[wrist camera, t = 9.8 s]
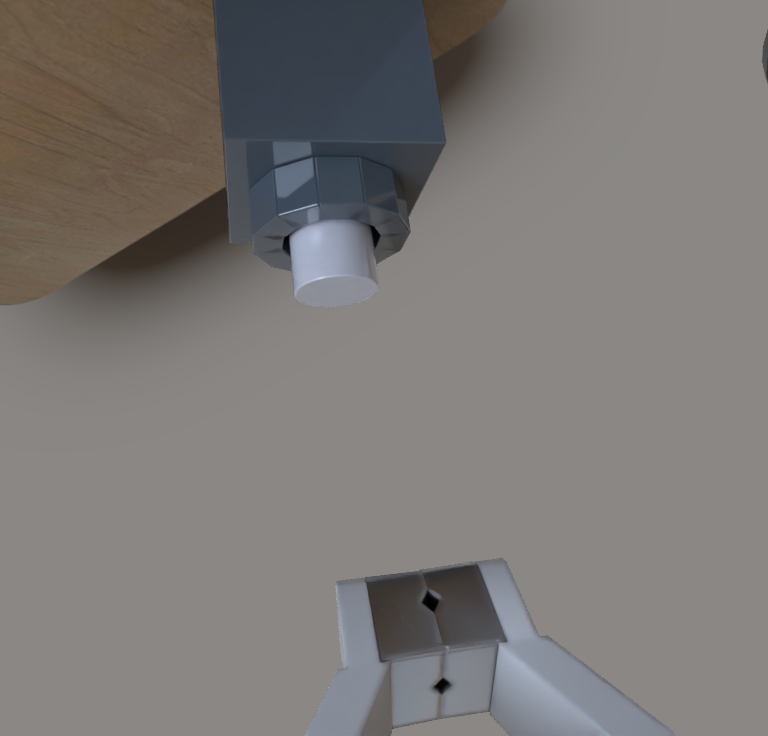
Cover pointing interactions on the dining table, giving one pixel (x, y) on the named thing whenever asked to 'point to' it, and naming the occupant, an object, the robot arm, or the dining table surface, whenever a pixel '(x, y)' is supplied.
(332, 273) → the cylinder
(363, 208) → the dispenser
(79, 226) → the dining table surface
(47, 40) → the dining table surface
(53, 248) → the dining table surface
